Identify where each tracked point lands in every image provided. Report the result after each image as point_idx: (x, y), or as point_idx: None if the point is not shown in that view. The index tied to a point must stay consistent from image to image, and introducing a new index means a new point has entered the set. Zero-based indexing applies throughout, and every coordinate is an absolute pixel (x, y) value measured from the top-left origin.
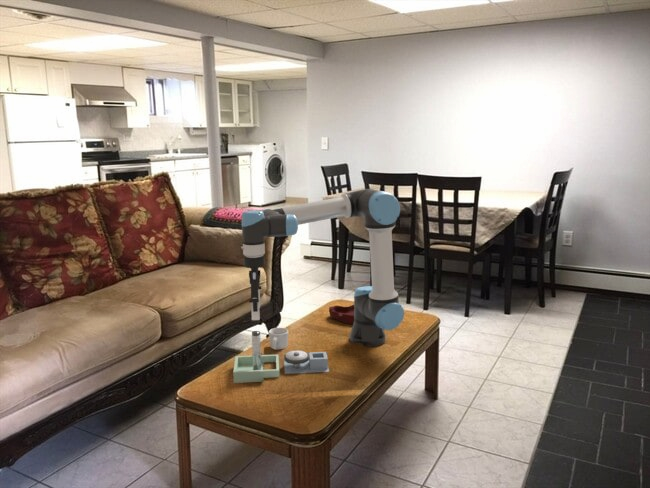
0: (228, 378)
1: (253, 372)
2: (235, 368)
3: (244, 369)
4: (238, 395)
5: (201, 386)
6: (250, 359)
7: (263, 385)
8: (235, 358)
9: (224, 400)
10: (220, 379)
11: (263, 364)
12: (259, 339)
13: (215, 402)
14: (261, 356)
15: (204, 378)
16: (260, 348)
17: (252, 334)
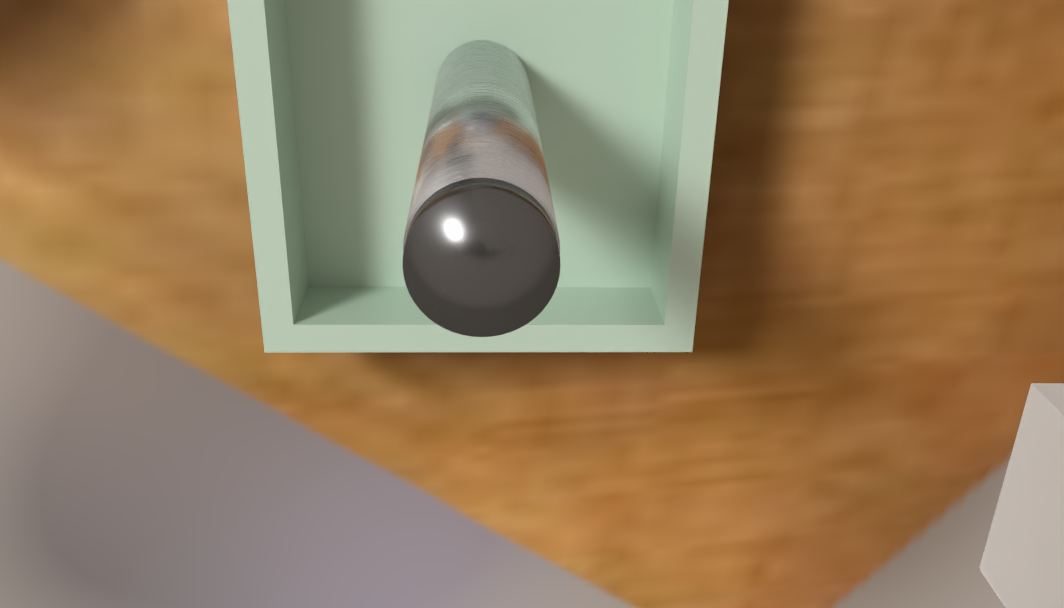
0: None
1: (711, 143)
2: (599, 336)
3: None
4: (932, 247)
5: (685, 538)
6: (287, 178)
7: (786, 10)
8: (330, 350)
9: (986, 353)
10: (575, 413)
11: (311, 10)
12: (525, 165)
13: (997, 416)
14: (269, 50)
15: (536, 533)
16: (495, 108)
17: (519, 316)
